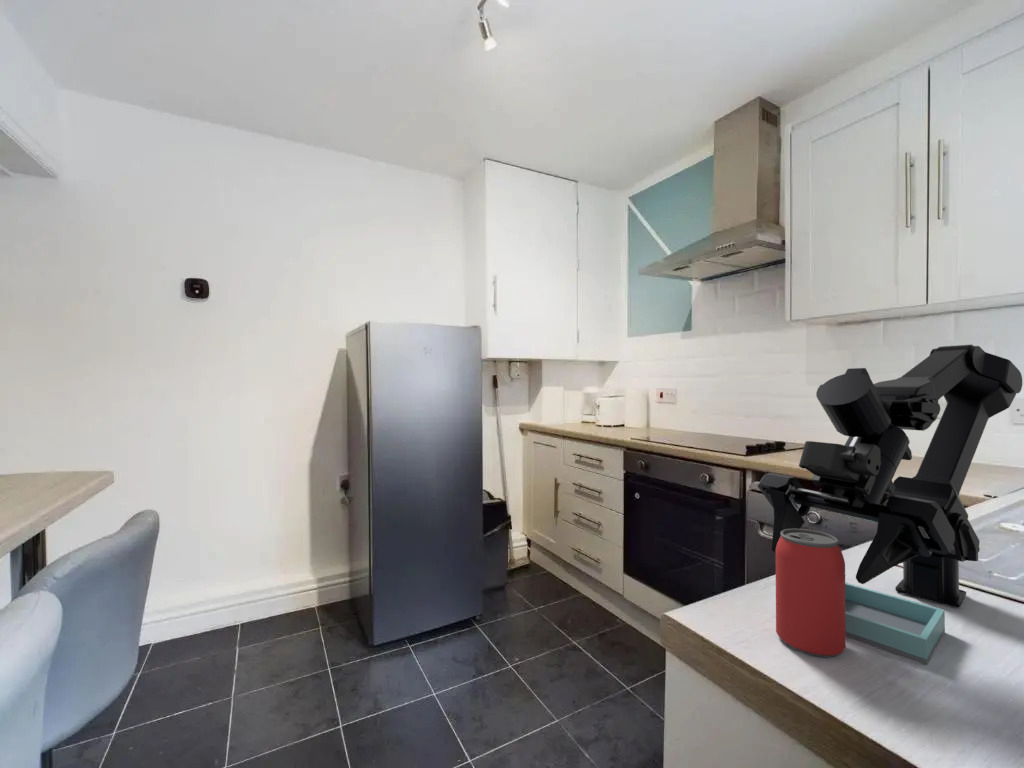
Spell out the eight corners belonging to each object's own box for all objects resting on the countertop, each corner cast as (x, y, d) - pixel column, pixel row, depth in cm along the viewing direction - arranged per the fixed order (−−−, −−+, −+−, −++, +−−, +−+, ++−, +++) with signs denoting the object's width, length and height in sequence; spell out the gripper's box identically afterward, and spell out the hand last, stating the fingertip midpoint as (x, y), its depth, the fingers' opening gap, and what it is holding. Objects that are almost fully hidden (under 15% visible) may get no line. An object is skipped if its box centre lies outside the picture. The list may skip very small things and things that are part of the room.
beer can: (780, 621, 56) (780, 523, 56) (847, 640, 51) (846, 534, 52) (770, 644, 51) (770, 537, 51) (843, 668, 46) (842, 550, 46)
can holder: (841, 600, 61) (841, 581, 61) (944, 632, 53) (944, 610, 53) (813, 625, 55) (813, 603, 55) (926, 665, 47) (926, 639, 47)
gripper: (766, 413, 62) (709, 502, 57) (940, 422, 46) (882, 548, 41) (801, 467, 66) (751, 555, 61) (976, 493, 49) (926, 618, 44)
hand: (813, 565), depth 51 cm, fingers open, 9 cm apart
